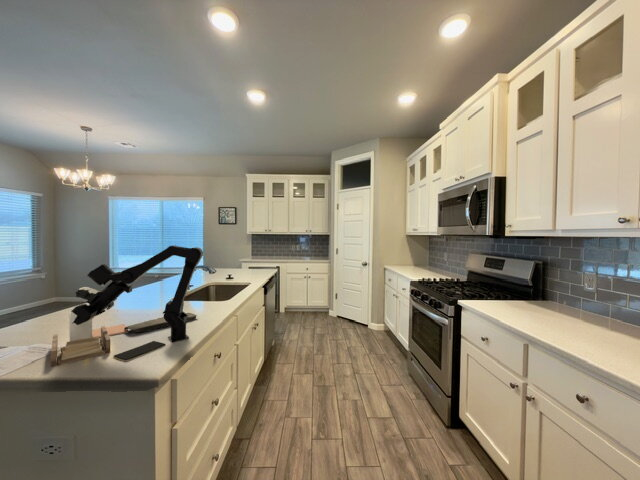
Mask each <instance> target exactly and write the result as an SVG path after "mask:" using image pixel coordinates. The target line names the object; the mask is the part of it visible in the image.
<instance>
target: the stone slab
mask: <svg viewBox="0 0 640 480" xmlns="http://www.w3.org/2000/svg"><path fill="white" fill-rule="evenodd" d="M185 313H186V314H187V315H188V318H187V320H186V321H185V322H186V323H187V322H191V321H193V320H194V321H195V320H196V319H197V316H198V315H197V314H195V313H192V312H185ZM166 327H170V326H169V324H168V322H167V321H165V319H164V316H163V317H159V318H156V319H150V320H147V321H143V322H138V323H135V324H131V325H127V326H126V327H125V328H124V330H126V329H128V330H131V331H134V332H136V333H140V332H146V331H150V330H151V331H152V330H155V329H161V328H166Z"/></svg>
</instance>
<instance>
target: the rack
mask: <svg viewBox="0 0 640 480" xmlns="http://www.w3.org/2000/svg"><path fill="white" fill-rule="evenodd" d="M100 328H101V338H99V336H97V337H91V338H86V339H80V340H75V341H70V340H69V341H66V344H65V346H62V347H60V352H58V345H59V344H58V340H59V339H58V338H59V337H58V334H53V335H52V343H51V351H50V365H51V367H55V366H57V365H58V366H60V365H65V364H68V363H69V364H70V363H73V362H76V361H82V360H85V359H89V358H93V357H94V358H95V357H98V356H101V355H106V354H110V353H111V338H110V337H111V336H109V335H108V332H107V330H106V326H105V325H103V326H100ZM100 340H101V341H100ZM101 342H102V343H101Z"/></svg>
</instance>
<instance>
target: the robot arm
mask: <svg viewBox="0 0 640 480" xmlns="http://www.w3.org/2000/svg"><path fill="white" fill-rule="evenodd" d="M203 251H204V250H203V249H201V247H198V246H194V247H191V248H190V247H184V246H178V245H176V244H175V245H169V246H168V247H166V248H165V249H164V250H162V251H160V252H159V253H157V254H155V255H153V256H152V257H150V258H148V259H146V260H145V261H143V262H142V263H139V264H136V265H133V266H131V267H129V268H126V269H123V270H122V271H118V272H115V271H114V270H112V269H111V268H110V267H109V266H108V265H107V264H106V263H103V264H101V265H99V266H98V267H96V268H95V269H93V270H91V271H89V273H87V276H86V277H88V278H89V279H90V280H92V281H93V282H94V283H95V284H96V285H98V286H102V285H103V286H105V288H103V289H101V290H100V291H99V290H98V289H95V288H92V287H88V286H83V287H80V288H78V290H77V291H75V298H78V299H79V298H81V299H84V300H86V303H81V304H79V305H77V306H74V308H73V309H72V312H73V313H74V314H76V315H77V317H76V318H75V320H74V322H73V323H75V324H77V325H79V324H82V323H84V322H87V321H89V320H91V319H92V320H93V319H94V318H95V317H97V316H99V315H101V314H103V313H105V312H106V310H107V311H108V310H110V309H111V308H113V307H114V305H115V302H116V300H118V298H119V297H120V296H121V295H122V294H123V293H127V294H130V293H131V292H133V285H132V284H133V283H135V282H138V281H139V280H140V279H141V278H142V277H143V276H145V275H146V274H147V273H148V272H149V271H150V270H151V269H153V268H156V267H157V266H158V265H160V264H161V263H163V262H165V261H166V260H168V259H170V258H171V257H173V256H176V257H179V258H180V257H181V258H183V259H184V268H183V271H182V273H181V276H180V280H179V282H178V285H177V288H176V291H175V294H174V295H173V299H172V300H169V301H168V302H167V303H165V308H164V310H163V312H162V314H163V317H164V319H165V321H167V322H168V324H169V326H168V327H169V328H170V336H167V339H168V340H170V342H172V343H175V342H178V341H183V340H188V339H189V338H190V336H188V334H187V321H186V320H187V318H188V315H187V314H186V313H187V312H184V303H185V298H186V295H187V292H188V289H189V286H190V284H191V280H192V278H193V275H194V273H195V270H196V267H198V265H199V263H200V262H201V260H202V259H203V256H204V252H203ZM130 284H131V285H130ZM87 303H88V304H87ZM185 321H186V322H185ZM73 323H72V324H73Z"/></svg>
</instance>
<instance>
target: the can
mask: <svg viewBox="0 0 640 480" xmlns="http://www.w3.org/2000/svg"><path fill="white" fill-rule="evenodd" d="M72 310H73V309H72ZM72 310H70V314H69V316H68V318H69V322H68V323H69V325H68V326H69V341H75V340H80V339H86V338H91V337H92V330H93V319H91V320H89V321H87V322H84V323H82V324H79V325H77V324H75V323H73V322H74V320H75V318H76V317H77V315H76V314H74V313H73V312H72ZM72 323H73V324H72Z"/></svg>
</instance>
